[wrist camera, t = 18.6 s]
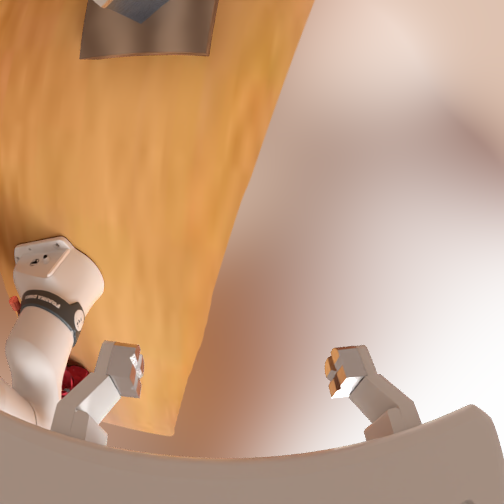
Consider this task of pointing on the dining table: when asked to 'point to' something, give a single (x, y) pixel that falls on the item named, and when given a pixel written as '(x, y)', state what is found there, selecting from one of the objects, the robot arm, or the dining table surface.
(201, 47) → the walnut box
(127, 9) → the slate tin
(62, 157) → the dining table surface
